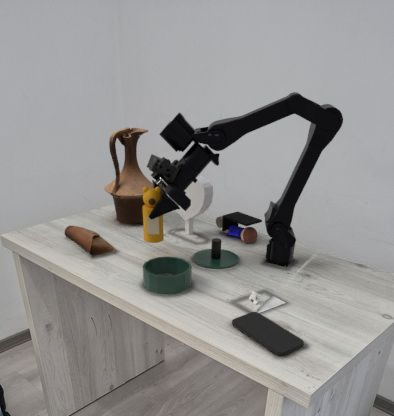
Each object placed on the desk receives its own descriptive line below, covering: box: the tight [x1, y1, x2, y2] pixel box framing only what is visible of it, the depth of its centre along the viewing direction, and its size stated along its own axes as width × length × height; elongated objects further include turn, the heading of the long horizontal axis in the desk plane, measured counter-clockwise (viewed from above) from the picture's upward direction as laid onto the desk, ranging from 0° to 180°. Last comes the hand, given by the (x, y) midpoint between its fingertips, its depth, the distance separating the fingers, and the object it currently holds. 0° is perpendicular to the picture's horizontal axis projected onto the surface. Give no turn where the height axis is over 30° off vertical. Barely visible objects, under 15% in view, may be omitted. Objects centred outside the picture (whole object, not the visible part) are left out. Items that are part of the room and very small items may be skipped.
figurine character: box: [215, 211, 263, 245], centre depth 138 cm, size 7×8×15 cm
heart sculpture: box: [170, 175, 214, 239], centre depth 135 cm, size 16×5×18 cm, turn 45°
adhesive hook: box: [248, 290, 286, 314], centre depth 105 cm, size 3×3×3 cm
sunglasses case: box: [64, 225, 117, 258], centre depth 132 cm, size 18×7×7 cm
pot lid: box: [192, 237, 240, 270], centre depth 124 cm, size 13×13×6 cm
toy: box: [142, 187, 164, 244], centre depth 116 cm, size 5×5×13 cm
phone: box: [231, 311, 305, 356], centre depth 95 cm, size 7×1×15 cm
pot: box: [142, 256, 193, 295], centre depth 112 cm, size 12×12×5 cm
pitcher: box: [104, 126, 153, 226], centre depth 143 cm, size 18×17×28 cm
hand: (147, 214), depth 115 cm, fingers closed on toy, 5 cm apart
